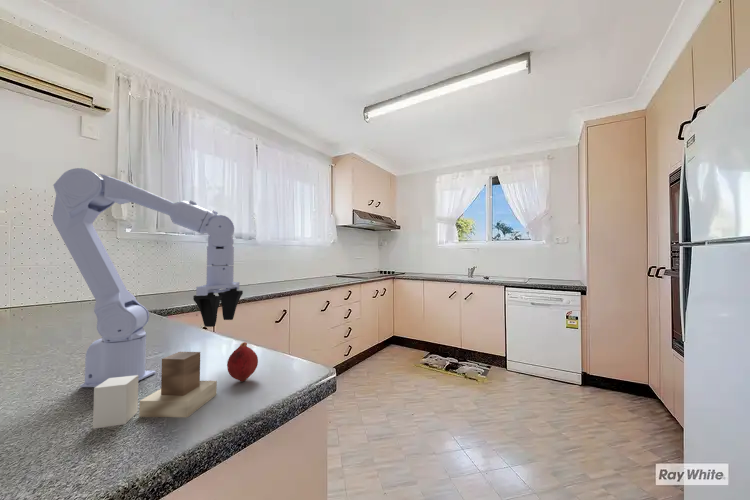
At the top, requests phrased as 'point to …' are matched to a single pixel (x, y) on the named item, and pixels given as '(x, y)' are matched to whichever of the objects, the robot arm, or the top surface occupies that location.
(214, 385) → the beech slab
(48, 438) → the top surface
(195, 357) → the walnut block
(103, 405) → the offwhite block
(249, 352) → the onion
